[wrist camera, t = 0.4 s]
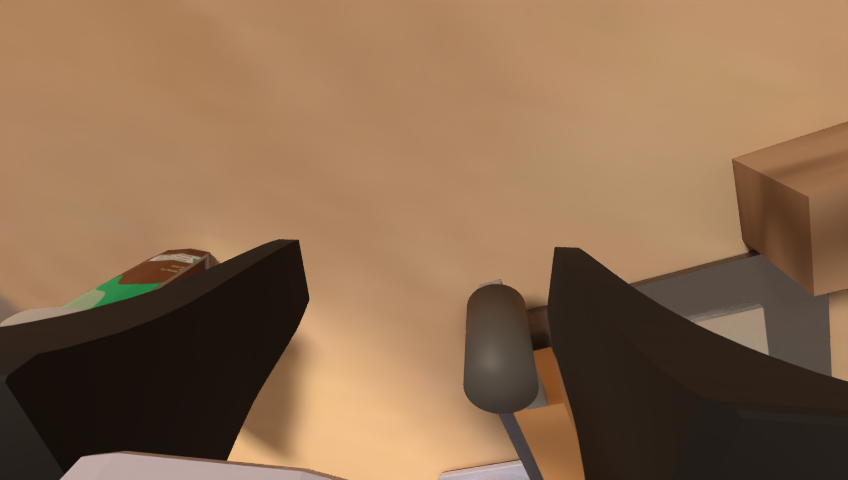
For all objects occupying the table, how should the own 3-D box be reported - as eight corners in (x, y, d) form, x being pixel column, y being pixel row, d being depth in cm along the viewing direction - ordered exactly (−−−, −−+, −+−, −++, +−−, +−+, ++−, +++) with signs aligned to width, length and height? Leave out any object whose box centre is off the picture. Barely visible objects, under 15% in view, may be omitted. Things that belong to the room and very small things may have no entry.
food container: (107, 203, 24) (-111, 302, 15) (209, 230, 24) (50, 346, 15) (128, 356, 30) (-21, 494, 21) (211, 378, 30) (96, 526, 21)
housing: (847, 210, 19) (965, 267, 15) (741, 239, 21) (819, 300, 16) (845, 121, 18) (978, 153, 13) (731, 158, 19) (814, 200, 14)
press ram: (593, 460, 27) (637, 625, 20) (555, 466, 28) (583, 627, 20) (509, 235, 21) (526, 351, 13) (462, 249, 21) (452, 368, 14)
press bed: (829, 429, 25) (867, 473, 23) (536, 473, 30) (541, 513, 28) (819, 233, 20) (868, 262, 17) (467, 326, 25) (466, 358, 22)
